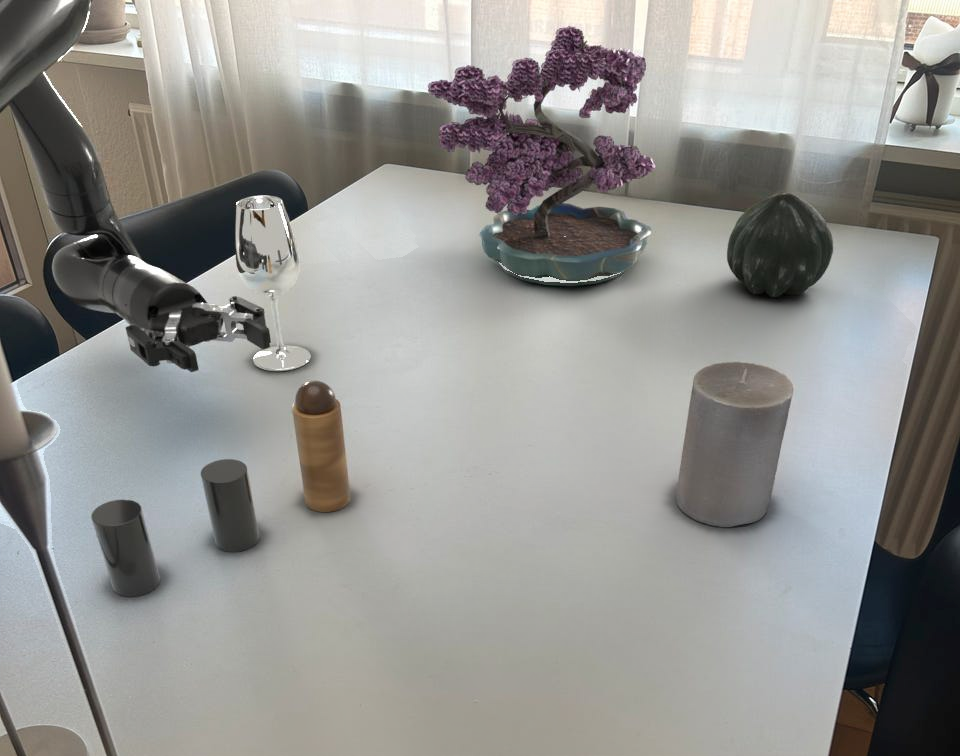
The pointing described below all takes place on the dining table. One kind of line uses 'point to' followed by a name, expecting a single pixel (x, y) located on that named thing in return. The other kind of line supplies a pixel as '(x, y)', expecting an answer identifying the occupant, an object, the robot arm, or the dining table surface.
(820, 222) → the squash
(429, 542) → the dining table surface
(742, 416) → the pillar candle
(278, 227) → the wineglass
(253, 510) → the grey upright cylinder
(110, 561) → the dark grey upright cylinder
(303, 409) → the pepper mill
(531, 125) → the bonsai tree
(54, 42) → the robot arm
